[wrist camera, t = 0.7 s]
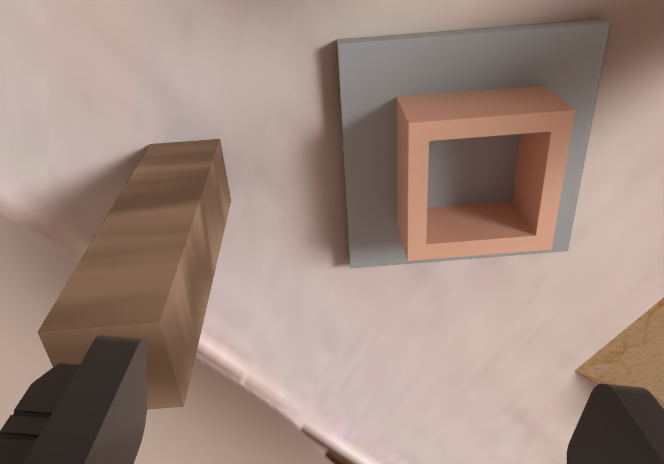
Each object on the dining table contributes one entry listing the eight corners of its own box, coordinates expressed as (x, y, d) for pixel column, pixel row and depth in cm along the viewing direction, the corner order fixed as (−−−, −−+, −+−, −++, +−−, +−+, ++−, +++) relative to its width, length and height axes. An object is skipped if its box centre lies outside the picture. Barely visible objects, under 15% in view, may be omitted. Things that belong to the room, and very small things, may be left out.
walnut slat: (150, 144, 32) (37, 332, 18) (219, 138, 32) (159, 322, 18) (165, 205, 34) (74, 415, 20) (230, 200, 34) (183, 406, 21)
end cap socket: (336, 39, 30) (342, 64, 25) (601, 19, 30) (651, 40, 25) (349, 259, 37) (355, 307, 33) (561, 242, 37) (595, 288, 33)
